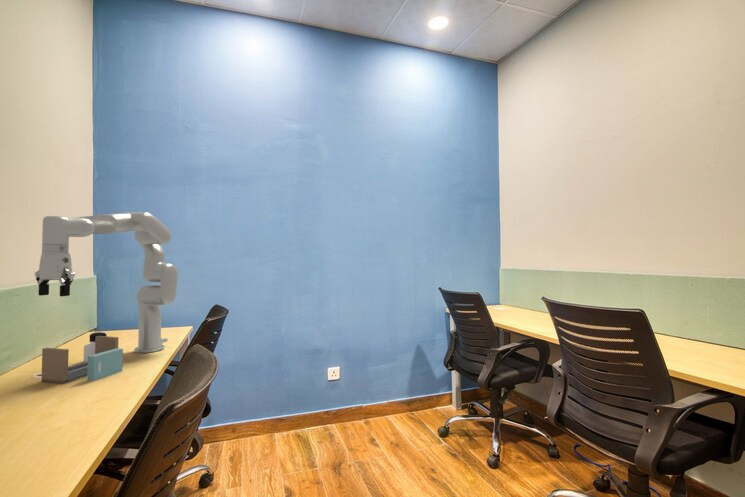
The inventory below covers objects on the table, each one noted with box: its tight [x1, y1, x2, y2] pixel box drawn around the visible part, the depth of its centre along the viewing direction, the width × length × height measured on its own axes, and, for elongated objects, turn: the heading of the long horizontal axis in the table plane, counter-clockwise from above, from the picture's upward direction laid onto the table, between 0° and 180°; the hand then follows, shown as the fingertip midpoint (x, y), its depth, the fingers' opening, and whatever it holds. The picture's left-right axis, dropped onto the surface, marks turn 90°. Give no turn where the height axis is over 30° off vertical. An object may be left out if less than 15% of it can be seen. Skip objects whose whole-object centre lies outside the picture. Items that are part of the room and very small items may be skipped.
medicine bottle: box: [83, 331, 107, 363], centre depth 161 cm, size 7×7×12 cm
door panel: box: [86, 347, 124, 382], centre depth 141 cm, size 12×3×9 cm, turn 168°
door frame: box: [41, 336, 119, 385], centre depth 143 cm, size 22×10×12 cm, turn 168°
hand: (54, 295), depth 135 cm, fingers open, 9 cm apart
